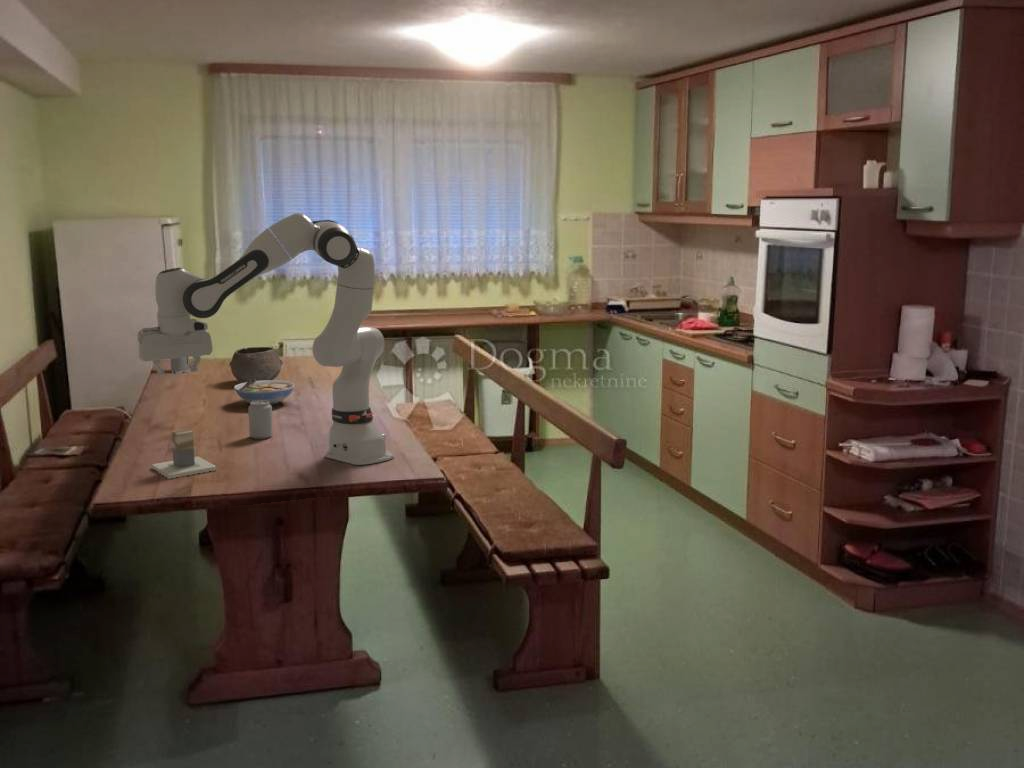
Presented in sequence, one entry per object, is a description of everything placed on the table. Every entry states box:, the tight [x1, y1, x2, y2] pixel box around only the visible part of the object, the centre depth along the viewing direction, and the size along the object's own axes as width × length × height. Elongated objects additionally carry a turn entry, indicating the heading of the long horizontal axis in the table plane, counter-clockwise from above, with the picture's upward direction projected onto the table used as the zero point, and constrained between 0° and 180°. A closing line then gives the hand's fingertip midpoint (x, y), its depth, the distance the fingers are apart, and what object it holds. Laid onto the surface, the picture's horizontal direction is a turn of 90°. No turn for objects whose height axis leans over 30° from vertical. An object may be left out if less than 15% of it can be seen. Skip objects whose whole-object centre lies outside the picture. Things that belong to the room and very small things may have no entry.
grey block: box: [171, 447, 195, 468], centre depth 278 cm, size 5×5×5 cm
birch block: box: [170, 428, 195, 451], centre depth 277 cm, size 5×5×5 cm
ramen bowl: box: [233, 377, 295, 406], centre depth 366 cm, size 25×23×8 cm
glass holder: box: [170, 357, 195, 373], centre depth 434 cm, size 9×14×15 cm, turn 100°
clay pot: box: [229, 346, 284, 383], centre depth 406 cm, size 21×21×15 cm
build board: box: [151, 455, 218, 480], centre depth 279 cm, size 14×14×1 cm
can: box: [247, 400, 274, 440], centre depth 315 cm, size 8×8×12 cm
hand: (177, 373), depth 273 cm, fingers open, 8 cm apart
